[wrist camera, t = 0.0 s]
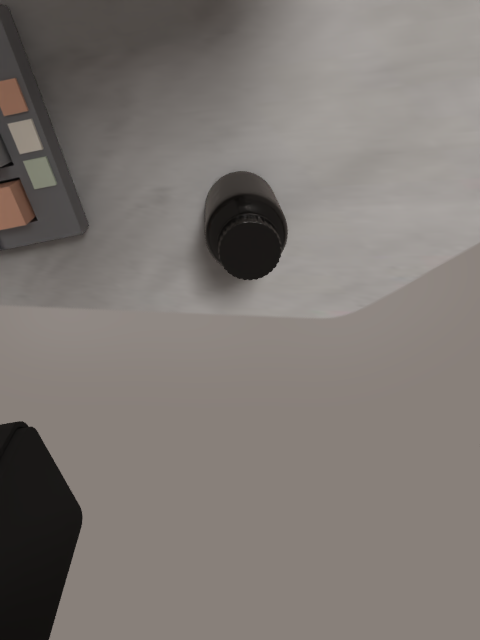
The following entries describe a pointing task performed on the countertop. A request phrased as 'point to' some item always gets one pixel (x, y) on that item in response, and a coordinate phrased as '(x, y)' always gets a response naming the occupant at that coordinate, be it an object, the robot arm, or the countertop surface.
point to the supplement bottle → (244, 225)
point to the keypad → (32, 150)
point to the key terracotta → (14, 205)
